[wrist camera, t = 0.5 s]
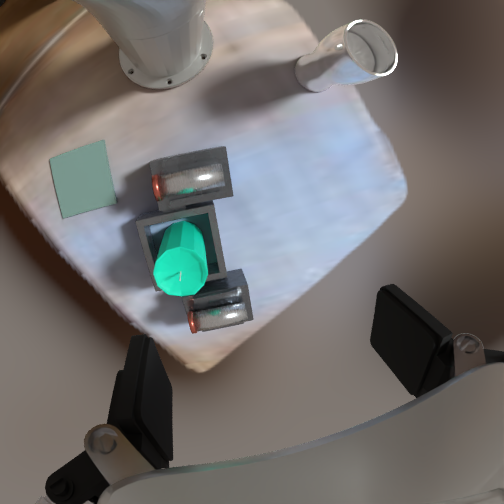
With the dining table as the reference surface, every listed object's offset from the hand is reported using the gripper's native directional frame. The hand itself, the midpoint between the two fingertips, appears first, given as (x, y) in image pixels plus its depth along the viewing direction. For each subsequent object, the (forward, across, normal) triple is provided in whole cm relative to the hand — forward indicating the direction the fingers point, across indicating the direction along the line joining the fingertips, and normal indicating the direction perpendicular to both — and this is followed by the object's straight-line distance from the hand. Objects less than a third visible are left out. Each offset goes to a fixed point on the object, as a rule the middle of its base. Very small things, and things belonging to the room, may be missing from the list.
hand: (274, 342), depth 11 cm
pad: (+30, +18, -6) cm, 36 cm away
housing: (+30, +4, +5) cm, 31 cm away
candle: (+30, +6, +5) cm, 31 cm away
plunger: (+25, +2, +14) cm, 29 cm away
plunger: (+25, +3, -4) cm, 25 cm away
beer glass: (+30, -16, -17) cm, 38 cm away
